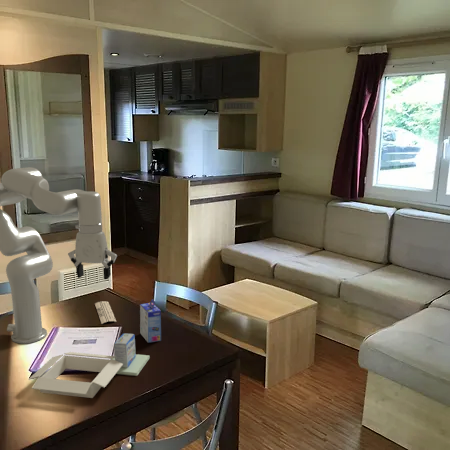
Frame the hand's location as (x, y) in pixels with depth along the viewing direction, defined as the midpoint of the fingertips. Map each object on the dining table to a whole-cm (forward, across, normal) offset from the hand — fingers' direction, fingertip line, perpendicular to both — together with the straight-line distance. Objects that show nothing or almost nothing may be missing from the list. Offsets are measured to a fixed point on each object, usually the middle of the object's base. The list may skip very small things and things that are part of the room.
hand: (93, 277), depth 163 cm
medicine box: (+28, +13, -6) cm, 31 cm away
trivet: (+28, +13, -6) cm, 32 cm away
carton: (+28, +2, -19) cm, 34 cm away
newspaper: (+29, -14, +35) cm, 47 cm away
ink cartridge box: (+29, +14, +16) cm, 36 cm away
